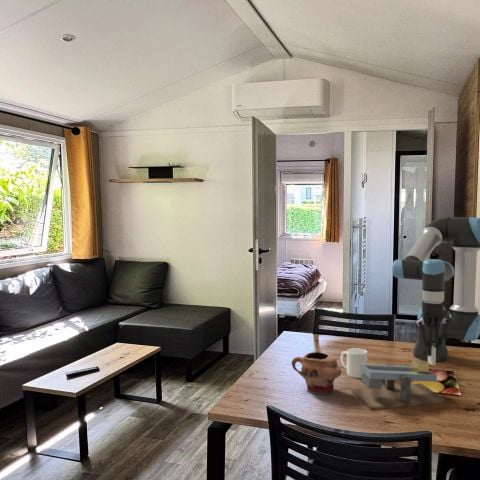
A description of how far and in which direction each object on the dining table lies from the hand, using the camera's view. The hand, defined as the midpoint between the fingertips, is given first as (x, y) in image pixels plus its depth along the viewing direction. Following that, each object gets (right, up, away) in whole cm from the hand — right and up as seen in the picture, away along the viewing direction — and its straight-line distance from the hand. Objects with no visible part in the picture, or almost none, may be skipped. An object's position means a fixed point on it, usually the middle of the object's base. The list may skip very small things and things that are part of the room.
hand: (431, 363), depth 178 cm
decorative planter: (-42, -12, +6) cm, 44 cm away
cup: (-24, -10, +23) cm, 35 cm away
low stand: (-13, -12, -1) cm, 18 cm away
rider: (-5, -4, -1) cm, 6 cm away
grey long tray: (-14, -8, -2) cm, 16 cm away
